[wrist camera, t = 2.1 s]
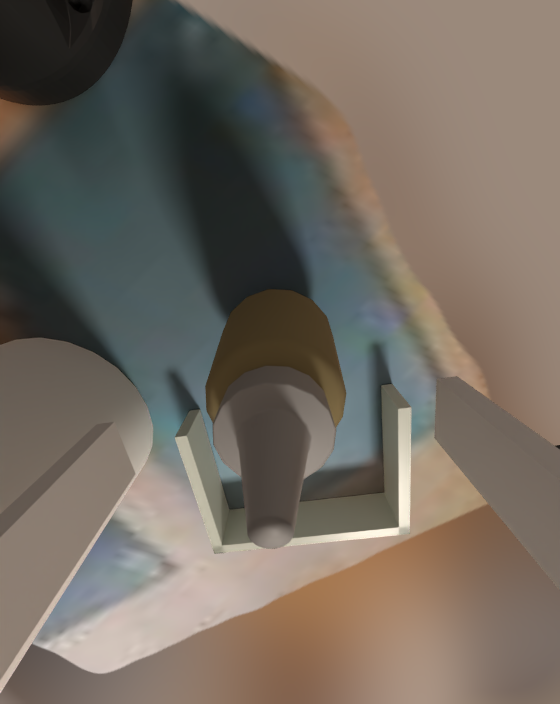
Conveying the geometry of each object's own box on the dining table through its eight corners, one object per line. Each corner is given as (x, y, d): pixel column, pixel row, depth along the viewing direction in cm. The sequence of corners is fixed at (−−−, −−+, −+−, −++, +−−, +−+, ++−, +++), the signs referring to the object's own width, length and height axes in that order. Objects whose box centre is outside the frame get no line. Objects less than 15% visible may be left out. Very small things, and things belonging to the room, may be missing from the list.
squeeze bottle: (267, 260, 22) (219, 306, 5) (345, 321, 24) (508, 508, 7) (212, 340, 24) (53, 554, 7) (287, 390, 26) (298, 659, 9)
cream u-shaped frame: (189, 410, 27) (174, 437, 23) (392, 383, 26) (411, 407, 22) (222, 517, 31) (214, 553, 28) (393, 498, 30) (409, 533, 27)
